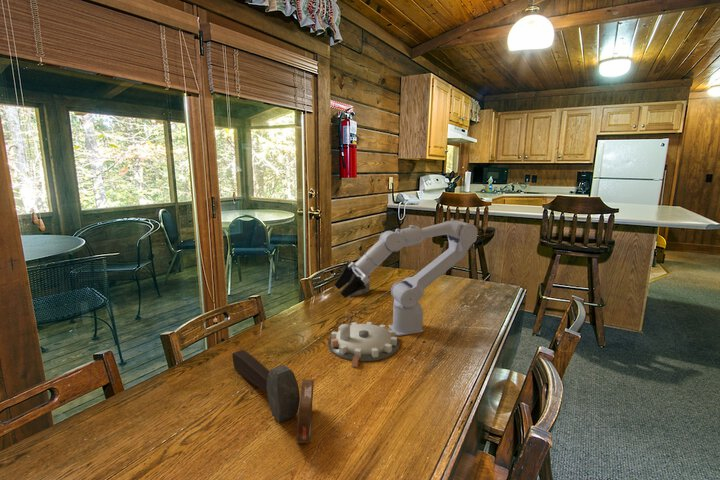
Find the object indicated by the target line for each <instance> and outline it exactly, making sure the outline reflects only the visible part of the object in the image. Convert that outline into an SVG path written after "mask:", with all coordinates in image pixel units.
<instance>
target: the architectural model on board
mask: <svg viewBox="0 0 720 480" xmlns="http://www.w3.org/2000/svg"><path fill="white" fill-rule="evenodd" d="M356 276H357V275H356ZM357 277H358V276H357ZM370 277H371V274H370V275H369V276H368V278H369V279H370V281H369V282H368V283H367V284H365V283H364V285H365V286H366V288H365V289H362V290H359V291H357V292H355V293H353V294H351V295H350V296H348V298H352V297H355V296H359V295H362V294H365V293H369V292H370V291H371V290H370V287H371V286H370V282H371V278H370ZM347 284H348V283H347ZM347 284H345V286H346V285H347Z"/></svg>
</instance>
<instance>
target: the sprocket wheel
mask: <svg viewBox="0 0 720 480" xmlns="http://www.w3.org/2000/svg"><path fill="white" fill-rule="evenodd" d="M372 323H373V322H372V321H366V323H357V321H356V322H355V321H354V322H351V323H350V324H349V323H341V324H340V325H339V326H338V330H337V331H332V332H331V334H330V337H331V346H332V348H334V347H339V353H340V354H342V355H343V354H345V353H350V354H355V356H358V357H361V355H371V356H372V357H373V358H375V357H378V353H381V352H387V353H390V352H392V345H393V346H396V345H397V338H398V337H397V336H396V334H395V331H394V330H391V329H389V330H388V329H387V328H386V327H387V325H385V324H380V325H377V324H372ZM395 336H396V337H395Z"/></svg>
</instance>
